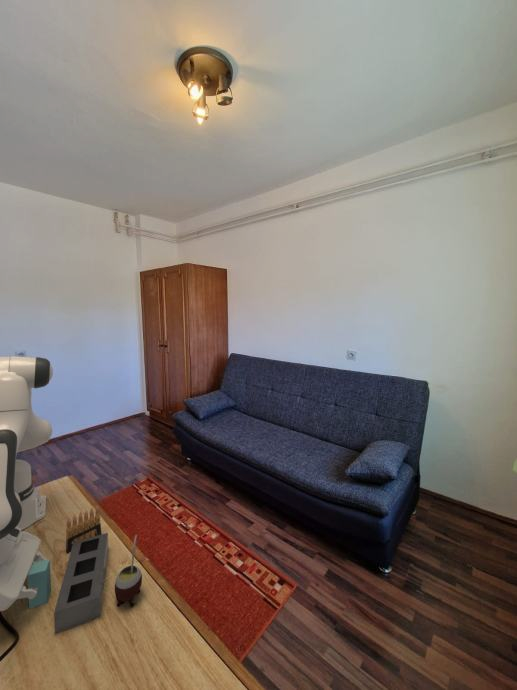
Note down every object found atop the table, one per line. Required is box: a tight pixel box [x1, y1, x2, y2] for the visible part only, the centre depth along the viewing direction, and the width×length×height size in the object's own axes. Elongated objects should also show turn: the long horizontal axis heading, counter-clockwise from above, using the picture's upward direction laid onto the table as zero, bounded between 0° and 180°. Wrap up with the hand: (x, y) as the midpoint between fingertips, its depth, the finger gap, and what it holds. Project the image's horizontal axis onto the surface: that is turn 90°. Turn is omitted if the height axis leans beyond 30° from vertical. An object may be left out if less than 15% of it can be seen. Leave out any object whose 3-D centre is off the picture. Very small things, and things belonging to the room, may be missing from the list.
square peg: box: [27, 558, 52, 609], centre depth 77 cm, size 4×4×10 cm
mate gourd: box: [114, 534, 143, 609], centre depth 78 cm, size 8×8×15 cm
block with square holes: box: [53, 532, 109, 635], centre depth 82 cm, size 24×10×6 cm, turn 24°
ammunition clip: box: [65, 505, 102, 554], centre depth 97 cm, size 11×2×12 cm, turn 137°
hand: (41, 578), depth 77 cm, fingers open, 8 cm apart
